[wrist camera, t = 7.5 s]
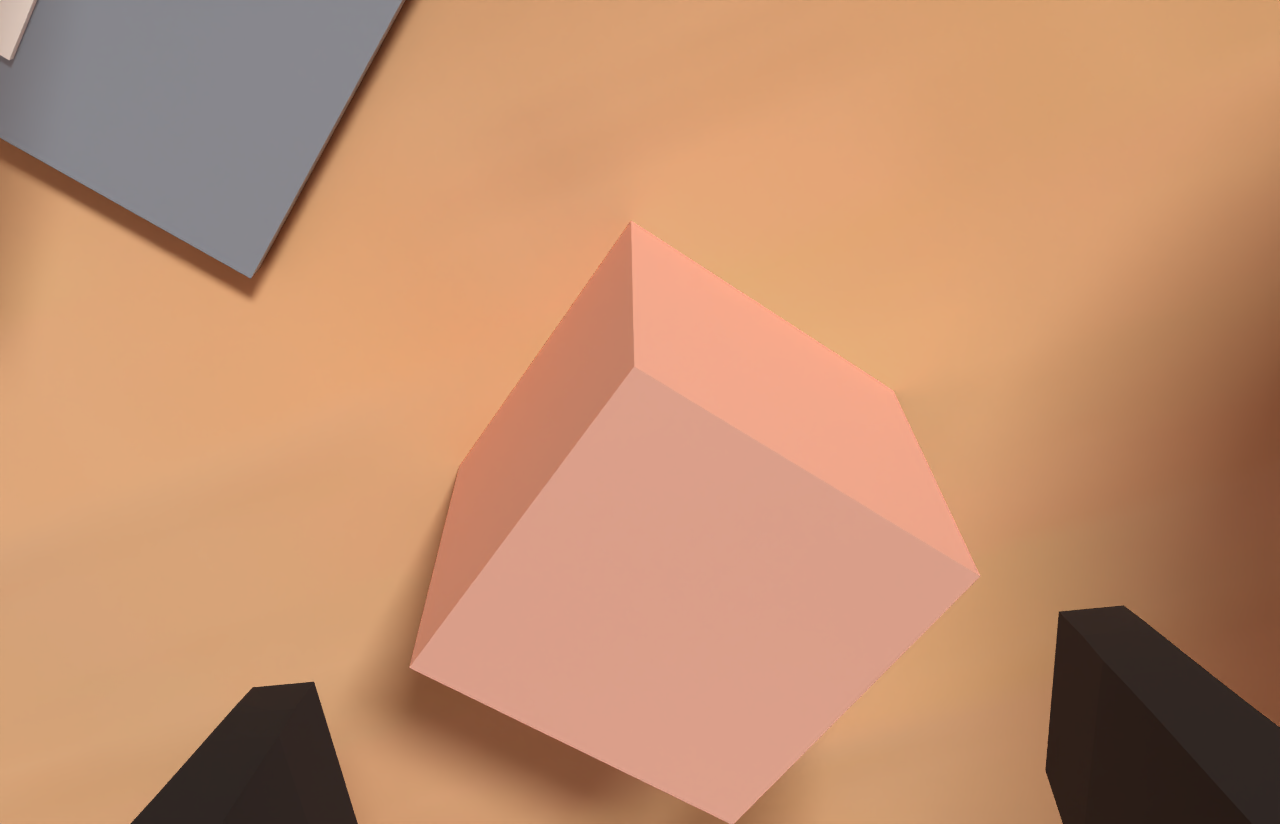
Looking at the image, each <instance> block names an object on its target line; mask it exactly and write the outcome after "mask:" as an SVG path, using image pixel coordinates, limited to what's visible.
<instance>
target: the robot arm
mask: <svg viewBox="0 0 1280 824" xmlns="http://www.w3.org/2000/svg"><path fill="white" fill-rule="evenodd" d="M1046 773H1047V776H1048V779H1049V782H1050V786H1051V789H1052V792H1053V795H1054V798H1055V801H1056V804H1057V807H1058V810H1059V813H1060V816H1061V819H1062V822H1063V824H1280V727H1278V726H1277V725H1276V724H1274V723H1273V722H1272V721H1270V720H1269V719H1268V718H1267V717H1265V716H1264V715H1263V714H1261V713H1260V712H1259V711H1257V710H1256V709H1255V708H1253V707H1252V706H1251V705H1250V704H1248V703H1247V702H1246V701H1244V700H1243V699H1242V698H1240V697H1239V696H1238V695H1237V694H1235V693H1234V692H1233V691H1232V690H1230V689H1229V688H1228V687H1226V686H1225V685H1224V684H1223V683H1221V682H1220V681H1219V680H1218V679H1216V678H1215V677H1214V676H1212V675H1211V674H1210V673H1209V672H1207V671H1206V670H1205V669H1204V668H1202V667H1201V666H1200V665H1198V664H1197V663H1196V662H1195V661H1193V660H1192V659H1191V658H1190V657H1188V656H1187V655H1186V654H1185V653H1183V652H1182V651H1181V650H1180V649H1178V648H1177V647H1176V646H1175V645H1173V644H1172V643H1171V642H1170V641H1168V640H1167V639H1166V638H1165V637H1163V636H1162V635H1161V634H1160V633H1158V632H1157V631H1156V630H1155V629H1153V628H1152V627H1151V626H1149V625H1148V624H1147V623H1146V622H1144V621H1143V620H1142V619H1141V618H1139V617H1138V616H1137V615H1135V614H1134V613H1133V612H1131V611H1130V610H1129V609H1127V608H1126V607H1125V606H1115V607H1104V608H1094V609H1083V610H1072V611H1062V612H1059V617H1058V629H1057V641H1056V653H1055V665H1054V676H1053V688H1052V700H1051V712H1050V723H1049V735H1048V747H1047V759H1046ZM131 824H358V823H357V820H356V817H355V814H354V810H353V807H352V804H351V801H350V797H349V794H348V791H347V788H346V784H345V781H344V778H343V775H342V771H341V768H340V765H339V762H338V758H337V755H336V752H335V749H334V745H333V742H332V739H331V736H330V732H329V729H328V726H327V723H326V719H325V716H324V713H323V710H322V706H321V703H320V700H319V697H318V693H317V690H316V687H315V683H314V682H306V683H296V684H285V685H274V686H264V687H253V688H252V689H251V690H250V691H249V692H248V693H247V694H246V695H245V696H244V697H243V699H242V700H241V701H240V702H239V703H238V704H237V705H236V706H235V707H234V708H233V709H232V711H231V712H230V713H229V714H228V715H227V716H226V717H225V718H224V720H223V721H222V722H221V723H220V724H219V725H218V726H217V728H216V729H215V730H214V731H213V732H212V733H211V734H210V735H209V737H208V738H207V739H206V740H205V741H204V742H203V743H202V745H201V746H200V747H199V748H198V749H197V750H196V751H195V752H194V754H193V755H192V756H191V757H190V758H189V759H188V760H187V762H186V763H185V764H184V765H183V766H182V767H181V768H180V769H179V771H178V772H177V773H176V774H175V775H174V776H173V777H172V778H171V780H170V781H169V782H168V783H167V784H166V785H165V786H164V787H163V789H162V790H161V791H160V792H159V793H158V794H157V795H156V796H155V797H154V799H153V800H152V801H151V802H150V803H149V804H148V805H147V806H146V807H145V808H144V810H143V811H142V812H141V813H140V814H139V815H138V816H137V817H136V818H135V819H134V821H133V822H132V823H131Z"/></svg>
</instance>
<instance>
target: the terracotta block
mask: <svg viewBox="0 0 1280 824" xmlns="http://www.w3.org/2000/svg"><path fill="white" fill-rule="evenodd" d="M979 577H980V574H979V572H978V570H977V568H976V566H975V563H974V561H973V559H972V557H971V555H970V553H969V551H968V548H967V546H966V544H965V542H964V540H963V538H962V536H961V534H960V531H959V529H958V527H957V525H956V523H955V521H954V519H953V517H952V514H951V512H950V510H949V508H948V506H947V504H946V502H945V499H944V497H943V495H942V493H941V491H940V489H939V487H938V485H937V482H936V480H935V478H934V476H933V474H932V472H931V470H930V467H929V465H928V463H927V461H926V459H925V457H924V455H923V453H922V450H921V448H920V446H919V444H918V442H917V440H916V438H915V435H914V433H913V431H912V429H911V427H910V425H909V423H908V421H907V418H906V416H905V414H904V412H903V410H902V408H901V406H900V403H899V401H898V399H897V397H896V395H895V393H894V391H893V390H892V389H890V388H889V387H887V386H886V385H884V384H883V383H881V382H879V381H878V380H876V379H875V378H873V377H872V376H870V375H869V374H867V373H866V372H864V371H862V370H861V369H859V368H858V367H856V366H855V365H853V364H852V363H850V362H849V361H847V360H845V359H844V358H842V357H841V356H839V355H838V354H836V353H835V352H833V351H832V350H830V349H829V348H827V347H825V346H824V345H822V344H821V343H819V342H818V341H816V340H815V339H813V338H812V337H810V336H808V335H807V334H805V333H804V332H802V331H801V330H799V329H798V328H796V327H795V326H793V325H792V324H790V323H788V322H787V321H785V320H784V319H782V318H781V317H779V316H778V315H776V314H775V313H773V312H771V311H770V310H768V309H767V308H765V307H764V306H762V305H761V304H759V303H758V302H756V301H755V300H753V299H751V298H750V297H748V296H747V295H745V294H744V293H742V292H741V291H739V290H738V289H736V288H734V287H733V286H731V285H730V284H728V283H727V282H725V281H724V280H722V279H721V278H719V277H717V276H716V275H714V274H713V273H711V272H710V271H708V270H707V269H705V268H704V267H702V266H701V265H699V264H697V263H696V262H694V261H693V260H691V259H690V258H688V257H687V256H685V255H684V254H682V253H680V252H679V251H677V250H676V249H674V248H673V247H671V246H670V245H668V244H667V243H665V242H664V241H662V240H660V239H659V238H657V237H656V236H654V235H653V234H651V233H650V232H648V231H647V230H645V229H643V228H642V227H640V226H639V225H637V224H636V223H634V222H633V221H630V223H629V224H628V226H627V227H626V228H625V230H624V231H623V233H622V234H621V236H620V237H619V238H618V240H617V241H616V243H615V244H614V246H613V247H612V248H611V250H610V251H609V253H608V254H607V256H606V257H605V258H604V260H603V261H602V263H601V264H600V266H599V267H598V268H597V270H596V271H595V273H594V274H593V276H592V277H591V279H590V280H589V281H588V283H587V284H586V286H585V287H584V289H583V290H582V291H581V293H580V294H579V296H578V297H577V299H576V300H575V301H574V303H573V304H572V306H571V307H570V309H569V310H568V311H567V313H566V314H565V316H564V317H563V319H562V320H561V321H560V323H559V324H558V326H557V327H556V329H555V330H554V331H553V333H552V334H551V336H550V337H549V339H548V340H547V341H546V343H545V344H544V346H543V347H542V349H541V350H540V351H539V353H538V354H537V356H536V357H535V359H534V360H533V361H532V363H531V364H530V366H529V367H528V369H527V370H526V372H525V373H524V374H523V376H522V377H521V379H520V380H519V382H518V383H517V384H516V386H515V387H514V389H513V390H512V392H511V393H510V394H509V396H508V397H507V399H506V400H505V402H504V403H503V404H502V406H501V407H500V409H499V410H498V412H497V413H496V414H495V416H494V417H493V419H492V420H491V422H490V423H489V424H488V426H487V427H486V429H485V430H484V432H483V433H482V434H481V436H480V437H479V439H478V440H477V442H476V443H475V444H474V446H473V447H472V449H471V450H470V452H469V453H468V454H467V456H466V457H465V459H464V460H463V462H462V463H461V465H460V466H459V470H458V474H457V478H456V482H455V486H454V490H453V494H452V498H451V502H450V506H449V510H448V514H447V518H446V522H445V526H444V530H443V534H442V538H441V542H440V546H439V550H438V554H437V558H436V562H435V566H434V570H433V574H432V578H431V582H430V586H429V590H428V594H427V598H426V602H425V606H424V610H423V614H422V618H421V622H420V626H419V630H418V634H417V638H416V642H415V646H414V650H413V654H412V658H411V662H410V666H409V668H411V669H413V670H415V671H417V672H419V673H421V674H423V675H425V676H427V677H429V678H431V679H433V680H435V681H437V682H439V683H441V684H444V685H446V686H448V687H450V688H452V689H454V690H456V691H458V692H460V693H462V694H464V695H466V696H468V697H470V698H472V699H474V700H476V701H479V702H481V703H483V704H485V705H487V706H489V707H491V708H493V709H495V710H497V711H499V712H501V713H503V714H505V715H507V716H509V717H511V718H513V719H516V720H518V721H520V722H522V723H524V724H526V725H528V726H530V727H532V728H534V729H536V730H538V731H540V732H542V733H544V734H546V735H548V736H550V737H553V738H555V739H557V740H559V741H561V742H563V743H565V744H567V745H569V746H571V747H573V748H575V749H577V750H579V751H581V752H583V753H585V754H587V755H590V756H592V757H594V758H596V759H598V760H600V761H602V762H604V763H606V764H608V765H610V766H612V767H614V768H616V769H618V770H620V771H622V772H625V773H627V774H629V775H631V776H633V777H635V778H637V779H639V780H641V781H643V782H645V783H647V784H649V785H651V786H653V787H655V788H657V789H659V790H662V791H664V792H666V793H668V794H670V795H672V796H674V797H676V798H678V799H680V800H682V801H684V802H686V803H688V804H690V805H692V806H694V807H696V808H699V809H701V810H703V811H705V812H707V813H709V814H711V815H713V816H715V817H717V818H719V819H721V820H723V821H725V822H727V823H729V824H734V823H735V822H736V821H737V820H738V819H739V818H740V817H741V816H742V815H743V814H744V813H745V812H746V811H747V810H748V809H749V808H750V807H751V806H752V805H753V804H754V803H755V802H756V801H757V800H758V799H759V798H760V797H761V796H762V795H763V794H764V793H765V792H766V791H767V790H768V789H769V788H770V787H771V786H772V785H773V784H774V783H775V782H776V781H777V780H778V779H779V778H780V777H781V776H782V775H783V774H784V773H785V772H786V771H787V770H788V769H789V768H790V767H791V766H792V765H793V764H794V763H795V762H796V761H797V760H798V759H799V758H800V757H801V756H802V755H803V754H804V753H805V752H806V751H807V750H808V749H809V748H810V747H811V746H812V745H813V744H814V743H815V742H816V741H817V740H818V739H819V738H820V737H821V736H822V735H823V734H824V733H825V732H826V731H827V730H828V729H829V728H830V727H831V726H832V725H833V724H834V723H835V722H836V721H837V720H838V719H839V718H840V717H841V716H842V715H843V714H844V713H845V712H846V711H847V710H848V709H849V708H850V707H851V706H852V705H853V704H854V703H855V702H856V701H857V700H858V699H859V698H860V697H861V696H862V695H863V694H864V693H865V692H866V691H867V690H868V689H869V688H870V687H871V686H872V685H873V684H874V683H875V682H876V681H877V680H878V679H879V678H880V677H881V676H882V675H883V674H884V673H885V672H886V671H887V670H888V669H889V668H890V667H891V666H892V665H893V664H894V663H895V662H896V661H897V660H898V659H899V658H900V656H901V655H902V654H903V653H904V652H905V651H906V650H907V649H908V648H909V647H910V646H911V645H912V644H913V643H914V642H915V641H916V640H917V639H918V638H919V637H920V636H921V635H922V634H923V633H924V632H925V631H926V630H927V629H928V628H929V627H930V626H931V625H932V624H933V623H934V622H935V621H936V620H937V619H938V618H939V617H940V616H941V615H942V614H943V613H944V612H945V611H946V610H947V609H948V608H949V607H950V606H951V605H952V604H953V603H954V602H955V601H956V600H957V599H958V598H959V597H960V596H961V595H962V594H963V593H964V592H965V591H966V590H967V589H968V588H969V587H970V586H971V585H972V584H973V583H974V582H975V581H976V580H977V579H978V578H979Z"/></svg>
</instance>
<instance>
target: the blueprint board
mask: <svg viewBox="0 0 1280 824" xmlns="http://www.w3.org/2000/svg"><path fill="white" fill-rule="evenodd" d="M404 2H405V0H0V138H1V139H3V140H5V141H7V142H8V143H10V144H12V145H14V146H15V147H17V148H19V149H21V150H23V151H24V152H26V153H28V154H30V155H31V156H33V157H35V158H37V159H39V160H40V161H42V162H44V163H46V164H47V165H49V166H51V167H53V168H55V169H56V170H58V171H60V172H62V173H63V174H65V175H67V176H69V177H71V178H72V179H74V180H76V181H78V182H80V183H81V184H83V185H85V186H87V187H88V188H90V189H92V190H94V191H96V192H97V193H99V194H101V195H103V196H104V197H106V198H108V199H110V200H112V201H113V202H115V203H117V204H119V205H120V206H122V207H124V208H126V209H128V210H129V211H131V212H133V213H135V214H136V215H138V216H140V217H142V218H144V219H145V220H147V221H149V222H151V223H152V224H154V225H156V226H158V227H160V228H161V229H163V230H165V231H167V232H168V233H170V234H172V235H174V236H176V237H177V238H179V239H181V240H183V241H184V242H186V243H188V244H190V245H192V246H193V247H195V248H197V249H199V250H201V251H202V252H204V253H206V254H208V255H209V256H211V257H213V258H215V259H217V260H218V261H220V262H222V263H224V264H225V265H227V266H229V267H231V268H233V269H234V270H236V271H238V272H240V273H241V274H243V275H245V276H247V277H249V278H250V279H251V278H252V277H253V275H254V274H255V273H256V272H257V270H258V269H259V268H260V266H261V264H262V262H263V261H264V259H265V257H266V255H267V253H268V251H269V250H270V248H271V246H272V244H273V242H274V240H275V239H276V237H277V235H278V233H279V231H280V229H281V228H282V226H283V224H284V222H285V220H286V218H287V217H288V215H289V213H290V211H291V209H292V207H293V206H294V204H295V202H296V200H297V198H298V196H299V195H300V193H301V191H302V189H303V187H304V185H305V184H306V182H307V180H308V178H309V176H310V174H311V173H312V171H313V169H314V167H315V165H316V163H317V162H318V160H319V158H320V156H321V154H322V152H323V151H324V149H325V147H326V145H327V143H328V141H329V140H330V138H331V136H332V134H333V132H334V130H335V129H336V127H337V125H338V123H339V121H340V119H341V118H342V116H343V114H344V112H345V110H346V108H347V106H348V105H349V103H350V101H351V99H352V97H353V95H354V94H355V92H356V90H357V88H358V86H359V84H360V83H361V81H362V79H363V77H364V75H365V73H366V72H367V70H368V68H369V66H370V64H371V62H372V61H373V59H374V57H375V55H376V53H377V51H378V50H379V48H380V46H381V44H382V42H383V40H384V39H385V37H386V35H387V33H388V31H389V29H390V28H391V26H392V24H393V22H394V20H395V18H396V17H397V15H398V13H399V11H400V9H401V7H402V6H403V4H404Z"/></svg>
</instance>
